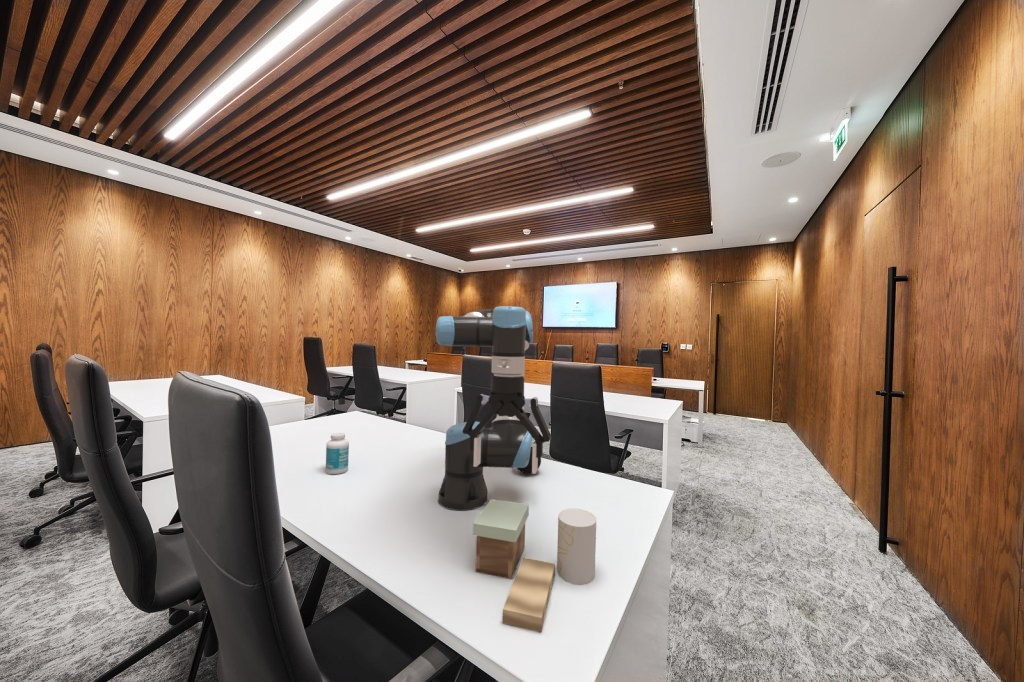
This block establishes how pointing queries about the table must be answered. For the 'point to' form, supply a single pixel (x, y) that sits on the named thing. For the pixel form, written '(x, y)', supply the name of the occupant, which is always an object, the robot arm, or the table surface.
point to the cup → (576, 546)
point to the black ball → (529, 464)
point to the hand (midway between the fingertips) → (505, 468)
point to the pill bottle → (337, 454)
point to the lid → (501, 520)
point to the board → (529, 595)
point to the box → (499, 555)
